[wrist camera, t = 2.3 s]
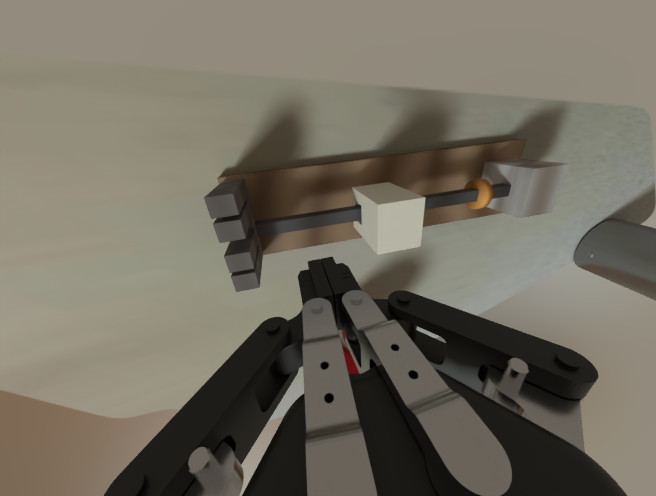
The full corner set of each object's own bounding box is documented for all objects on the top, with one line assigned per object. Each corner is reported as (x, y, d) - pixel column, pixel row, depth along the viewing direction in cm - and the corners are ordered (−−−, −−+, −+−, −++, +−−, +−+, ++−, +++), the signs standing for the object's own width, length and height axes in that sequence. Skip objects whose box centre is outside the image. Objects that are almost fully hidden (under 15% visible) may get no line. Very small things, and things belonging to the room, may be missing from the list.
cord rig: (517, 139, 28) (598, 140, 21) (499, 210, 32) (562, 231, 25) (219, 176, 23) (195, 194, 16) (242, 254, 27) (231, 295, 20)
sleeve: (388, 182, 24) (425, 197, 18) (387, 221, 26) (420, 246, 20) (351, 187, 24) (377, 204, 18) (353, 226, 26) (377, 254, 20)
